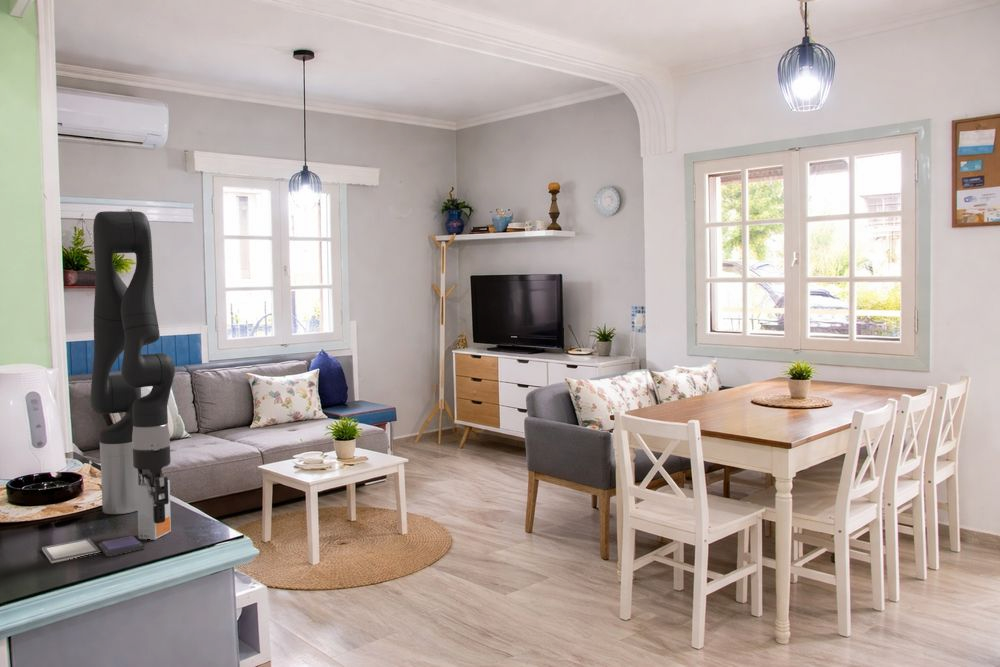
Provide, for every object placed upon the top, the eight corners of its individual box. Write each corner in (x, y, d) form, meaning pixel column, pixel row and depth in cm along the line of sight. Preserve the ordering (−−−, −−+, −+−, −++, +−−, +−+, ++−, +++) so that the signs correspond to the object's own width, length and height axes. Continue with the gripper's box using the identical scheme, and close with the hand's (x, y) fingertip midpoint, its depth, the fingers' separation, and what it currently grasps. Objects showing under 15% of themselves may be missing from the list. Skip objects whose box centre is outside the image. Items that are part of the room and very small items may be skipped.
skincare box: (155, 540, 173) (153, 486, 172) (137, 539, 174) (135, 485, 173) (172, 531, 179) (170, 479, 178) (155, 530, 180) (153, 478, 179)
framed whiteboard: (42, 549, 168) (42, 547, 168) (89, 540, 173) (89, 538, 173) (51, 563, 160) (51, 560, 160) (100, 553, 166) (100, 550, 166)
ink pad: (99, 548, 169) (98, 541, 169) (134, 541, 173) (133, 534, 173) (107, 557, 163) (107, 550, 163) (143, 549, 168) (143, 543, 168)
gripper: (124, 441, 178) (127, 514, 179) (142, 452, 167) (145, 529, 168) (159, 437, 183) (161, 507, 184) (179, 447, 172) (182, 522, 173)
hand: (154, 518), depth 176 cm, fingers open, 7 cm apart
